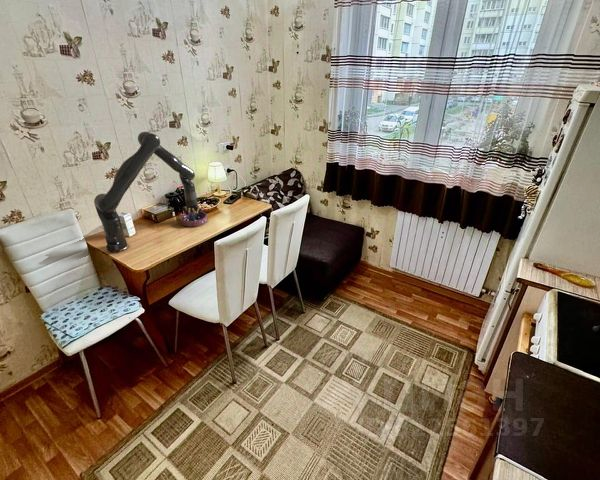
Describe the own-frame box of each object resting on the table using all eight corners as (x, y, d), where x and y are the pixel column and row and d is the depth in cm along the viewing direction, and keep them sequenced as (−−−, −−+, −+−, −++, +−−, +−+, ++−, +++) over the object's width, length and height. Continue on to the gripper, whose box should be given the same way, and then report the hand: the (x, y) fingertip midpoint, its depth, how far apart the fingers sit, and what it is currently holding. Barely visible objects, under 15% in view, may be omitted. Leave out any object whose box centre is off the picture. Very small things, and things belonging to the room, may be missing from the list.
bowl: (201, 228, 206) (200, 222, 204) (177, 226, 208) (176, 220, 206) (211, 217, 221) (210, 212, 219) (188, 216, 223) (187, 210, 221)
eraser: (194, 223, 211) (193, 218, 209) (189, 223, 211) (188, 217, 209) (199, 218, 218) (198, 213, 216) (194, 218, 218) (193, 213, 216)
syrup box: (136, 233, 198) (130, 212, 191) (129, 237, 193) (123, 216, 186) (129, 231, 199) (123, 211, 193) (122, 235, 194) (115, 215, 188)
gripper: (178, 199, 204) (182, 222, 212) (198, 200, 202) (202, 223, 211) (183, 195, 210) (187, 217, 219) (203, 196, 209) (206, 219, 217)
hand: (194, 220), depth 215 cm, fingers closed on eraser, 3 cm apart
